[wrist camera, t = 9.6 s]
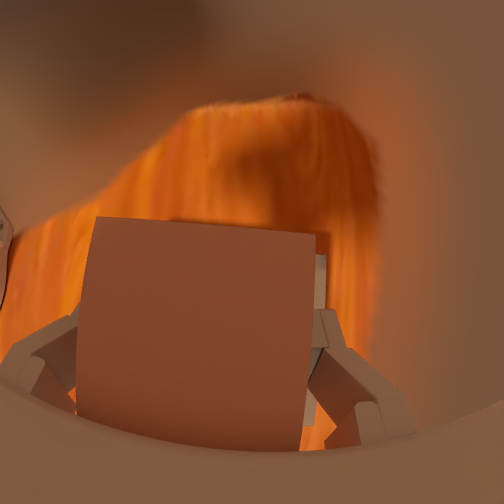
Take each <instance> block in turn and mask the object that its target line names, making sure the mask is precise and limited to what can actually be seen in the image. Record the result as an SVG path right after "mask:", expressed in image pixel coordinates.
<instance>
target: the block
mask: <svg viewBox="0 0 504 504" xmlns="http://www.w3.org/2000/svg"><path fill="white" fill-rule="evenodd" d="M315 262H316V234H306V233H297V232H287V231H277V230H267V229H257V228H246V227H235V226H224V225H212V224H200V223H187V222H174V221H160V220H146V219H130V218H114V217H96V221H95V225H94V229H93V234H92V238H91V243H90V247H89V252H88V257H87V262H86V268H85V274H84V280H83V287H82V294H81V301H80V310H79V319H78V331H77V347H76V407H77V415H78V416H81V417H83V418H86V419H89V420H91V421H94V422H97V423H100V424H103V425H106V426H109V427H112V428H116V429H119V430H122V431H126V432H130V433H133V434H137V435H141V436H145V437H149V438H154V439H158V440H163V441H168V442H173V443H179V444H185V445H191V446H198V447H205V448H214V449H224V450H236V451H255V452H295V451H299V447H300V441H301V434H302V427H303V419H304V411H305V403H306V395H307V386H308V376H309V365H310V354H311V342H312V328H313V311H314V291H315Z"/></svg>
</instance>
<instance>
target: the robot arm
mask: <svg viewBox="0 0 504 504" xmlns="http://www.w3.org/2000/svg"><path fill="white" fill-rule="evenodd" d="M12 236H13V225H12V224H11V222H10V221H9V219H8V218H7V216H6V215H5V213H4V211H3V210H2V208H1V207H0V306H1V302H2V299H3V294H4V289H5V283H6V273H7V254H8V250H9V246H10V243H11V239H12ZM79 310H80V302H79V304H78V305H77V307H76V308H75V310H74V311H73V313H72V314H71V315H70V316H68V315H66V316H64V317H62V318H60V319H58V320H57V321H55V322H53V323H51V324H49V325H47V326H46V327H44V328H42V329H40V330H38V331H37V332H35V333H33V334H31V335H29V336H28V337H26V338H24V339H22V340H20V341H19V342H17V343H15V344H13V346H12V347H11V349H10V350H9V352H8V353H7V355H6V357H5V358H4V360H3V361H2V363H1V365H0V504H504V399H503V400H501V401H499V402H497V403H495V404H493V405H491V406H489V407H486V408H484V409H482V410H480V411H478V412H475V413H473V414H470V415H468V416H466V417H463V418H461V419H458V420H455V421H452V422H450V423H447V424H444V425H441V426H438V427H435V428H432V429H429V430H425V431H422V432H419V433H417V430H416V427H415V424H414V420H413V417H412V414H411V411H410V408H409V405H408V402H407V399H406V396H405V395H404V394H403V393H402V392H401V391H400V390H399V389H398V388H396V387H395V386H394V385H393V384H392V383H391V382H390V381H388V380H387V379H386V378H385V377H384V376H383V375H381V374H380V373H379V372H378V371H377V370H376V369H375V368H373V367H372V366H371V365H370V364H369V363H368V362H367V361H365V360H364V359H363V358H362V357H361V356H360V355H359V354H357V353H356V352H355V351H354V350H353V349H352V348H347V347H346V344H345V340H344V337H343V334H342V331H341V327H340V324H339V321H338V318H337V315H336V312H335V310H334V309H314V311H313V328H312V342H311V354H310V365H309V376H308V386H307V388H308V389H309V391H310V392H311V393H312V394H313V396H314V397H315V398H316V400H317V401H318V402H319V404H320V405H321V406H322V407H323V409H324V410H325V411H326V413H327V414H328V415H329V416H330V418H331V419H332V420H333V422H334V423H335V424H336V425H337V428H336V429H335V430H334V431H333V432H332V433H331V435H330V436H329V437H328V438H327V439H326V440H325V441H324V444H325V450H314V451H295V452H255V451H236V450H224V449H214V448H205V447H198V446H191V445H185V444H179V443H173V442H168V441H163V440H158V439H154V438H149V437H145V436H141V435H137V434H133V433H130V432H126V431H122V430H119V429H116V428H112V427H109V426H106V425H103V424H100V423H97V422H94V421H91V420H89V419H86V418H83V417H81V416H78V415H75V414H74V413H75V411H76V408H77V407H76V404H75V402H74V401H73V400H72V399H71V397H70V396H69V395H68V392H69V391H71V390H72V389H73V388H74V387H75V386H76V347H77V331H78V319H79Z"/></svg>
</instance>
